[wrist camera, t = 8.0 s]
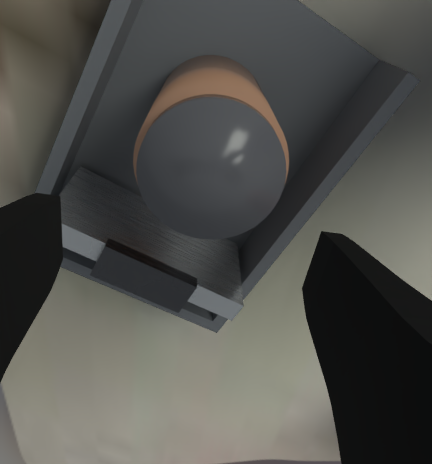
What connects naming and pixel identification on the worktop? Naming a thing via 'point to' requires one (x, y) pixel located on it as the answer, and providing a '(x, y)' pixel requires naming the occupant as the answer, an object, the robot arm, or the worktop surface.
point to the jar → (211, 151)
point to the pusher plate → (147, 249)
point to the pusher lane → (271, 83)
